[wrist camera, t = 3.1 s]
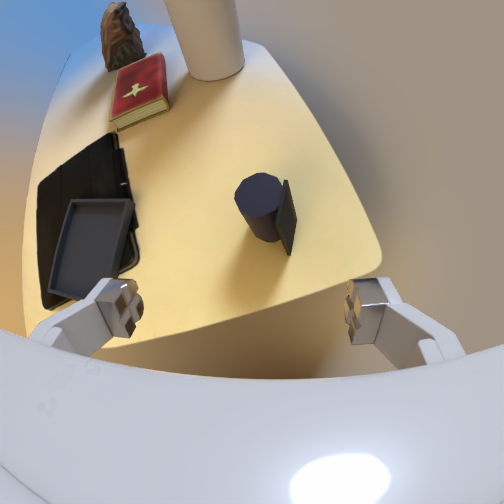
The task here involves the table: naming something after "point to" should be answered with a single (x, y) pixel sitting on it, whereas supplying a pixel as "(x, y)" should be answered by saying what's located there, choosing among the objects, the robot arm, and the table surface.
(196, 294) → the table surface
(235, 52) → the cylinder vase
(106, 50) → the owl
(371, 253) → the table surface
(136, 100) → the hardcover book
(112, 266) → the shallow rimmed tray
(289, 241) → the speaker
